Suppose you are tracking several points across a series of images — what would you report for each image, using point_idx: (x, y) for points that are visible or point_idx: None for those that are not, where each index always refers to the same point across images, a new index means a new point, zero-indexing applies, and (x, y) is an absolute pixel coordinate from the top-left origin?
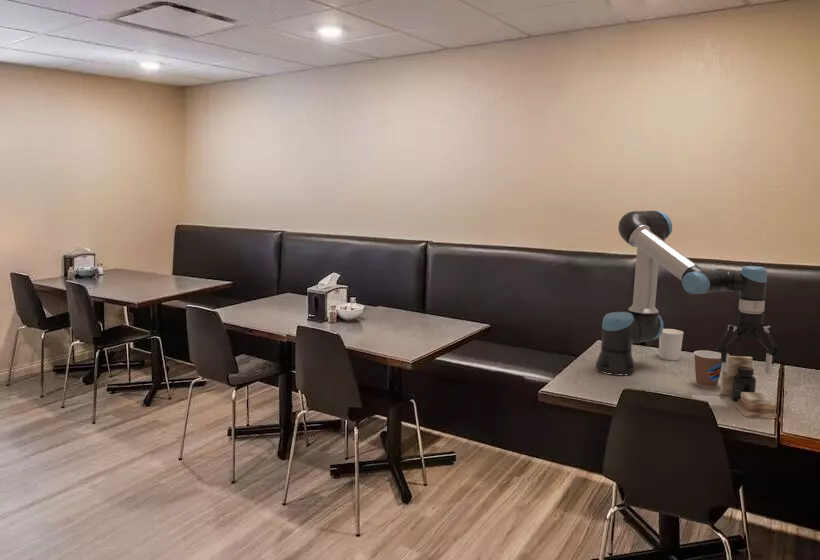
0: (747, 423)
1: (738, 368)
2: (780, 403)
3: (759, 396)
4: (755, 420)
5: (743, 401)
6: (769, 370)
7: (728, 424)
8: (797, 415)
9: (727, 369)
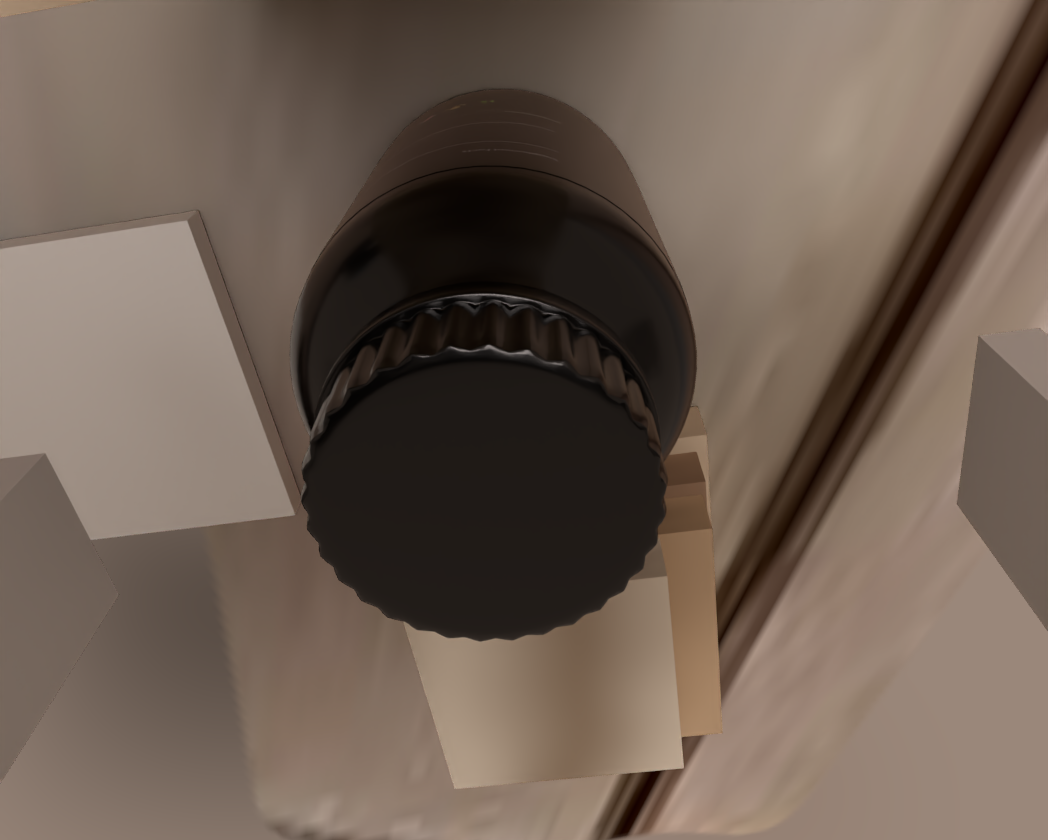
0: (431, 771)
1: (309, 523)
2: (1009, 139)
3: (592, 695)
4: None
5: None
6: (1016, 559)
7: (289, 816)
8: None
9: (73, 644)
